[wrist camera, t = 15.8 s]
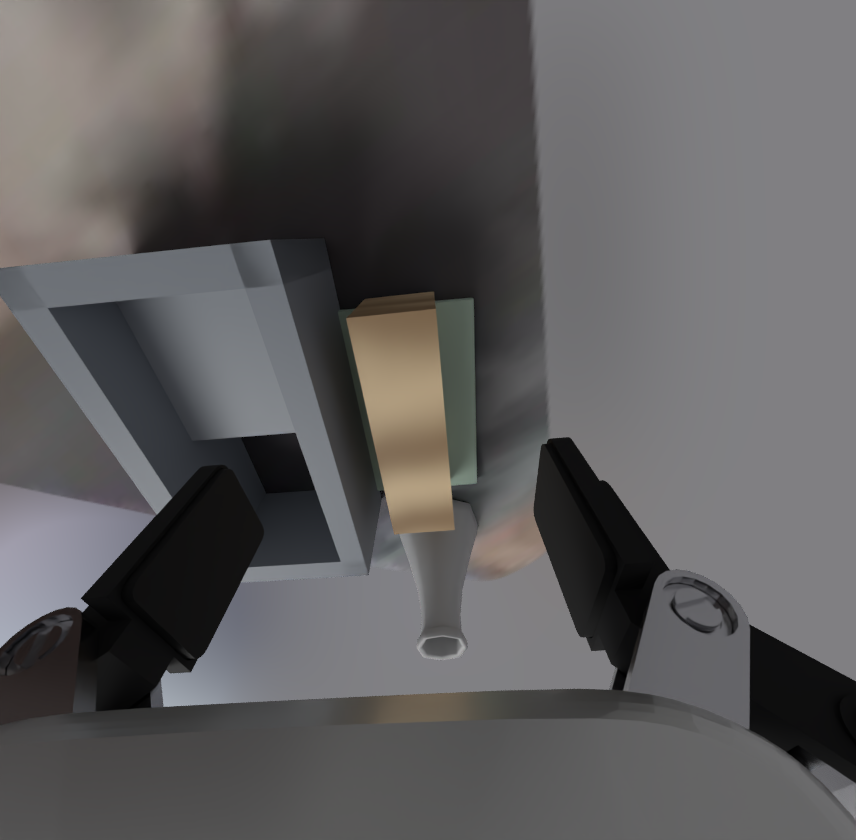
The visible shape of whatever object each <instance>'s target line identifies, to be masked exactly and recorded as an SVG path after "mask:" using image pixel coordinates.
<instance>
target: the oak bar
mask: <svg viewBox="0 0 856 840" xmlns="http://www.w3.org/2000/svg"><path fill="white" fill-rule="evenodd" d="M346 321H347V325H348V329H349V334H350V338H351V343H352V347H353V352H354V356H355V361H356V365H357V370H358V374H359V379H360V383H361V388H362V392H363V397H364V401H365V406H366V410H367V415H368V419H369V423H370V428H371V432H372V437H373V441H374V446H375V450H376V455H377V459H378V464H379V468H380V473H381V477H382V482H383V486H384V491H385V495H386V500H387V504H388V509H389V513H390V517H391V522H392V526H393V531H394V534H406V533H420V532H434V531H448V530H455V527H454V515H453V504H452V492H451V480H450V468H449V457H448V445H447V433H446V421H445V410H444V398H443V386H442V375H441V363H440V351H439V339H438V328H437V316H436V305H435V297H434V291H433V292H424V293H415V294H406V295H396V296H387V297H378V298H369V299H364V300H363V301H362V302H361V303H360V304H359V305H358V307H357V308H356V309H355V310H354V311H353V312H352V313H351V314H350V315H349V316H348V317H347V318H346Z"/></svg>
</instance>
